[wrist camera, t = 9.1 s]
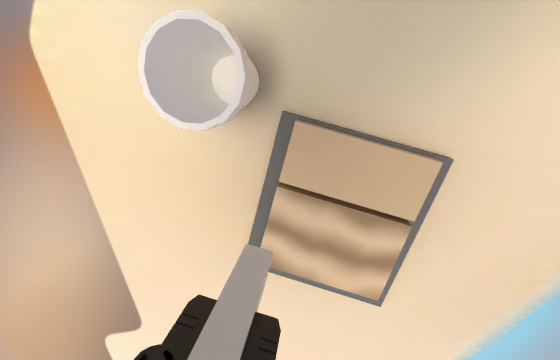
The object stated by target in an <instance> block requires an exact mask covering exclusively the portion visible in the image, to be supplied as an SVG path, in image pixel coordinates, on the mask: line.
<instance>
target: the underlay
mask: <svg viewBox="0 0 560 360" xmlns="http://www.w3.org/2000/svg"><path fill="white" fill-rule="evenodd" d="M452 162H453V159H451V158H448V157H445V156H441V155H438V154H434V153H431V152H427V151H423V150H420V149H416V148H413V147H409V146H406V145H402V144H399V143H395V142H392V141H388V140H384V139H381V138H377V137H374V136H370V135H367V134H363V133H360V132H356V131H353V130H349V129H345V128H342V127H338V126H335V125H331V124H328V123H324V122H321V121H317V120H314V119H310V118H306V117H303V116H299V115H296V114H292V113H289V112H285V111H283V112H282V115H281V119H280V123H279V127H278V131H277V135H276V139H275V143H274V147H273V150H272V154H271V158H270V162H269V166H268V170H267V174H266V178H265V182H264V186H263V189H262V193H261V197H260V201H259V205H258V209H257V213H256V217H255V221H254V224H253V228H252V232H251V236H250V240H249V245H252V246H256V247H259V248H260V247H261V243H262V239H263V236H264V232H265V229H266V225H267V222H268V218H269V214H270V211H271V207H272V204H273V200H274V196H275V193H276V189H277V186H278V184H279V183H283V184H286V185H290V186H293V187H296V188H300V189H303V190H307V191H310V192H313V193H317V194H320V195H324V196H327V197H330V198H334V199H337V200H340V201H344V202H347V203H351V204H354V205H357V206H361V207H364V208H368V209H371V210H374V211H378V212H381V213H384V214H388V215H391V216H395V217H398V218H401V219H405V220H407V221H408V222H409V223H410V224H411V226H412V228H411V230H410V232H409V235H408V237H407V239H406V241H405V243H404V245H403V248H402V250H401V252H400V254H399V256H398V259H397V261H396V263H395V265H394V267H393V269H392V272H391V274H390V276H389V278H388V280H387V283H386V285H385V287H384V289H383V291H382V293H381V296H380V298H379V300H378V301H377V300H373V299H370V298H367V297H364V296H360V295H357V294H354V293H351V292H348V291H344V290H341V289H338V288H335V287H332V286H328V285H325V284H322V283H319V282H315V281H312V280H309V279H306V278H303V277H299V276H296V275H293V274H290V273H287V272H283V271H280V270H277V269H274V268H271V267H269V271H268V272H271V273H274V274H277V275H280V276H284V277H287V278H290V279H293V280H296V281H300V282H303V283H306V284H309V285H312V286H316V287H319V288H322V289H325V290H328V291H332V292H335V293H338V294H341V295H344V296H348V297H351V298H354V299H357V300H360V301H364V302H367V303H370V304H373V305H376V306H380V307H381V305H382V303H383V301H384V299H385V297H386V295H387V293H388V291H389V289H390V287H391V285H392V283H393V281H394V279H395V277H396V275H397V273H398V271H399V269H400V267H401V265H402V263H403V261H404V259H405V257H406V255H407V253H408V251H409V249H410V247H411V245H412V243H413V241H414V239H415V237H416V235H417V233H418V231H419V229H420V227H421V225H422V223H423V221H424V219H425V217H426V215H427V213H428V211H429V209H430V207H431V204H432V202H433V200H434V198H435V196H436V194H437V192H438V190H439V188H440V186H441V184H442V182H443V180H444V178H445V176H446V174H447V172H448V170H449V168H450V166H451V164H452Z"/></svg>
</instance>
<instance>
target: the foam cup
mask: <svg viewBox="0 0 560 360" xmlns="http://www.w3.org/2000/svg"><path fill="white" fill-rule="evenodd" d="M137 72H138V75H139V79H140V82H141V86H142V89H143V93H144V96H145V97H146V99H147V100H148V101H149V103H150V104H151V105H152V107H153V108H154V109H155V111H156V112H157V113H158V114H159V116H160V117H162V118H163V119H165V120H167V121H169V122H170V123H172V124H174V125H175V126H177V127H179V128H181V129H190V130H202V131H204V130H207V129H210V128H213V127H216V126H218V125H220V124H223V123H225V122H228V121H230V120H232V119H233V118H234V117H235V116H236V114H237V113H238V112H239V111H240V110H241V109H242V108H244V107H245V106H246V105H247V104H248V103H249V102H250V101H251V100H252V99H253V98H254V96H255V95H256V94H257V91H258V87H259V83H260V82H259V76H258V71H257V69H256V68H255V66H254V65H253V63H252V62H251V60H250V59H249V57H248V53H247V52H246V50H245V49H244V47H243V46H242V44H241V43H240V41H239V40H238V38H237V37H236V35H235V34H234V32H233V31H231V30H230V29H229V28H227V27H226V26H225V25H223V24H221V23H220V22H218V21H216V20H215V19H213V18H211V17H210V16H208V15H206V14H205V13H203V12H201V11H190V10H174V11H172V12H170V13H168V14H167V15H165V16H163V17H161V18H160V19H158V20H156V21H154V22H153V23H152V25H151V26H150V28H149V30H148V31H147V33H146V35H145V36H144V38H143V40H142V41H141V43H140V47H139V57H138V67H137Z"/></svg>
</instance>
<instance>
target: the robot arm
mask: <svg viewBox="0 0 560 360" xmlns="http://www.w3.org/2000/svg"><path fill="white" fill-rule="evenodd" d="M272 256H273V252H272V251H269V250H266V249H262V248H259V247H256V246H252V245H249V244H246V245H245V247H244V249H243V251H242V253H241V255H240V257H239V259H238V261H237V263H236V265H235V267H234V269H233V271H232V273H231V275H230V277H229V278H228V280H227V282H226V284H225V286H224V288H223V290H222V292H221V294H220V296H219V298H218V300H214V299H211V298H208V297H205V296H202V295H198V296H196V297H195V298H193V299H192V300H191V301H189V302H188V304H187V305H186V307H185V308H184V310H183V312H182V314H181V315H180V316H179V318H178V319H177V321H176V323H175V324H174V326H173V327H172V329H171V330H170V332H169V333H168V335H167V336H166V338H165V340H164V341H163V343H162V344H161V345H155V346H150V347H148V348H147V349H145V350H143V351H141V352H140V353H139V354H138V356H137V357H136V358H135V359H134V360H275V359H276V353H277V348H278V343H279V337H280V332H281V330H280V326H279V322H278V319H277V318H274V317H271V316H267V315H264V314H261V313H258V312H257V309H258V306H259V303H260V300H261V296H262V293H263V290H264V286H265V282H266V278H267V275H268V271H269V267H270V263H271V260H272Z"/></svg>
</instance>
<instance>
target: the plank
mask: <svg viewBox="0 0 560 360" xmlns="http://www.w3.org/2000/svg"><path fill="white" fill-rule="evenodd" d="M411 228H412V226H411V224H410V223H409V222H408V221H407V220H405V219H401V218H398V217H395V216H391V215H388V214H384V213H381V212H378V211H374V210H371V209H368V208H364V207H361V206H357V205H354V204H351V203H347V202H344V201H340V200H337V199H334V198H330V197H327V196H324V195H320V194H317V193H313V192H310V191H307V190H303V189H300V188H296V187H293V186H290V185H286V184H283V183H279V184H278V186H277V189H276V193H275V196H274V200H273V204H272V207H271V211H270V214H269V218H268V222H267V225H266V229H265V232H264V236H263V239H262V243H261V247H260V248H262V249H266V250H269V251H272V252H273V256H272V260H271V263H270V267H271V268H274V269H277V270H280V271H283V272H287V273H290V274H293V275H296V276H299V277H303V278H306V279H309V280H312V281H315V282H319V283H322V284H325V285H328V286H332V287H335V288H338V289H341V290H344V291H348V292H351V293H354V294H357V295H360V296H364V297H367V298H370V299H373V300H377V301H378V300H379V298H380V296H381V293H382V291H383V289H384V287H385V285H386V283H387V280H388V278H389V276H390V274H391V272H392V269H393V267H394V265H395V263H396V261H397V259H398V256H399V254H400V252H401V250H402V248H403V245H404V243H405V241H406V239H407V237H408V235H409V232H410V230H411Z"/></svg>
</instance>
